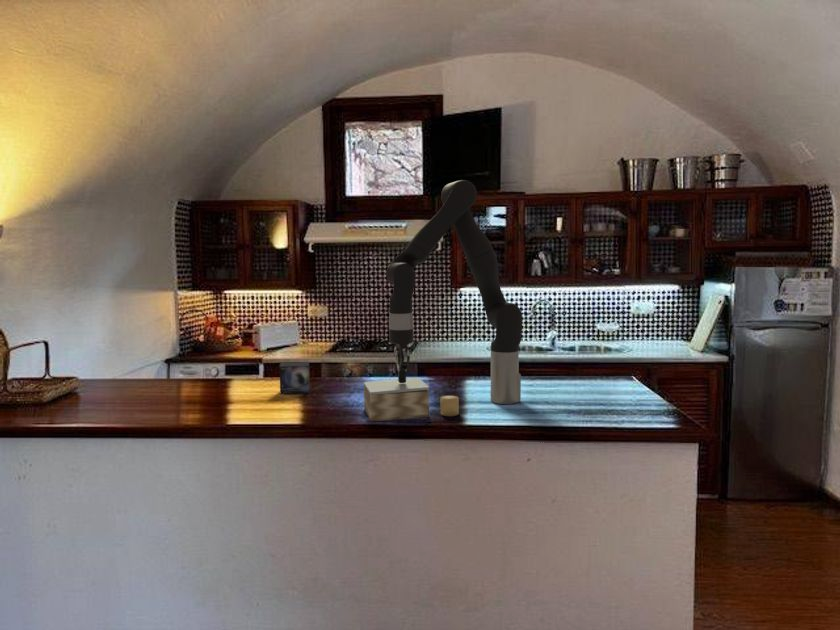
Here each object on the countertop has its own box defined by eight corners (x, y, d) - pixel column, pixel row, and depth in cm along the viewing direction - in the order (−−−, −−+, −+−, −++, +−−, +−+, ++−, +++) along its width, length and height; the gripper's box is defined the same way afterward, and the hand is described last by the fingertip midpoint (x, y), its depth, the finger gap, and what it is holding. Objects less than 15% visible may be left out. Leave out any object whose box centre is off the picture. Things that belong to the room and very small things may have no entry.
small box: (279, 395, 211) (278, 366, 209) (280, 391, 217) (279, 362, 216) (310, 393, 213) (309, 364, 212) (309, 389, 219) (309, 361, 218)
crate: (418, 405, 195) (418, 381, 194) (429, 417, 181) (429, 391, 180) (364, 409, 191) (363, 384, 190) (370, 421, 177) (370, 395, 176)
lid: (418, 379, 194) (418, 377, 194) (429, 389, 180) (429, 387, 180) (363, 384, 190) (363, 382, 190) (370, 395, 176) (370, 392, 176)
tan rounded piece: (455, 410, 188) (455, 395, 187) (460, 415, 183) (460, 399, 182) (438, 412, 187) (438, 396, 186) (443, 416, 181) (443, 400, 181)
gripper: (417, 329, 178) (418, 386, 180) (408, 324, 191) (409, 377, 192) (393, 330, 176) (394, 388, 178) (385, 325, 189) (386, 378, 191)
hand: (402, 382), depth 185 cm, fingers closed
